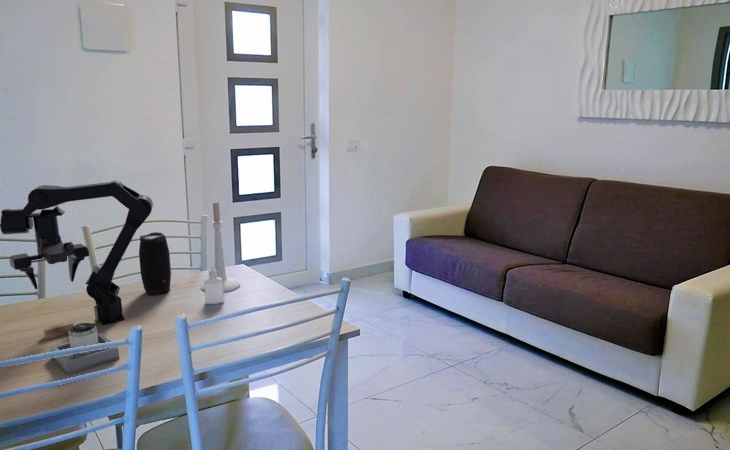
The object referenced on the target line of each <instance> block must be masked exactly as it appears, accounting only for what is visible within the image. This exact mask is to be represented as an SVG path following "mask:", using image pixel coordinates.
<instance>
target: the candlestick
mask: <svg viewBox="0 0 730 450" xmlns="http://www.w3.org/2000/svg"><path fill="white" fill-rule="evenodd" d="M212 211H213V212H212V213H213V221H211V223H212V224H213V225H212V227H213V228H214V269H215V270H217V277H220V278H222V281H223V294H224V293H230V292H233V291H235V290H237V289H239V288H240V287H241V283H240V281H239V280H238V279H236V278H234V277H229V276H227V275H226V267H225V258H224V248H223V241H222V231H221V228H222V223H223V220H221V217H220V216H221V214H220V202H219V201H216V200H215V201H213V202H212ZM201 290H202V291H204V292H205V285H204V283H202V285H201Z"/></svg>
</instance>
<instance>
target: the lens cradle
mask: <svg viewBox="0 0 730 450" xmlns="http://www.w3.org/2000/svg"><path fill="white" fill-rule="evenodd" d="M73 326H75V325H74V322H72V321H68V322H62V323H58V324H56V325H52V326H48V327H45V328H44V327H43V335H44V338H45V339H46V340H49V339H53V338H56V337H60V336H64V335H67V334H68V335H69V333H68V332H69V330H70V328H71V327H73ZM67 342H70V340H69V338H68V339H64V340H60V341H57V342H56V345H60V344H63V343H67Z"/></svg>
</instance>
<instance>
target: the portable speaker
mask: <svg viewBox="0 0 730 450" xmlns="http://www.w3.org/2000/svg"><path fill="white" fill-rule="evenodd" d="M139 240H140V241H139V248H138V257H139V267H140V268H139V270H140V276H141V281H142V285H143V288H144V291H145V293H146V295H148V296H158V295H159V294H160V293H163V292H166V293H168V292H171V279H172V271H171V269H172V268H171V258H170V257H171V255H170V250H169V244H168V241H167V238H166V235H165V234H163V232H157V231H154V232H150V233H148V234H144V235H140V236H139Z"/></svg>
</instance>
